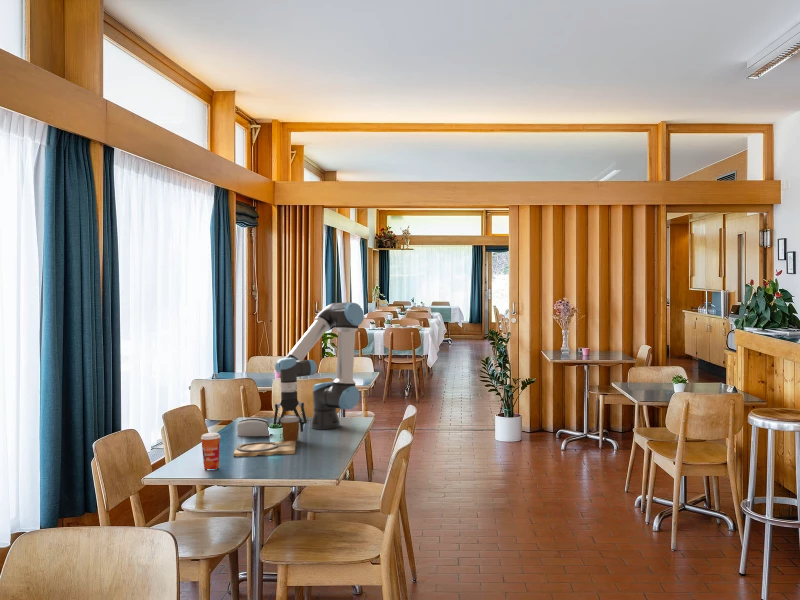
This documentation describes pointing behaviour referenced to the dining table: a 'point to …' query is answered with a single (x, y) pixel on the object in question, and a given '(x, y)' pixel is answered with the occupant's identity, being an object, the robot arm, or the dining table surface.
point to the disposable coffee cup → (290, 427)
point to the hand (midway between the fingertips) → (290, 439)
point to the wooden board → (265, 448)
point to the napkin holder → (253, 427)
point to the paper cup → (210, 450)
